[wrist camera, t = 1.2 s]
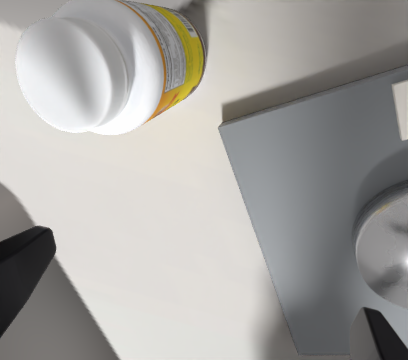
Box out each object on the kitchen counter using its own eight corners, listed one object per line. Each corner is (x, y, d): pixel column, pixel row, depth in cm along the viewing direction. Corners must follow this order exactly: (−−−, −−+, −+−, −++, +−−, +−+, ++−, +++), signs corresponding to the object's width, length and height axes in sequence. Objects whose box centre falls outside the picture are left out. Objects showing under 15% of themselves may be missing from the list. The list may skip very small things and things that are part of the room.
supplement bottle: (134, 102, 22) (19, 150, 13) (120, 11, 20) (-29, -4, 11) (211, 101, 20) (142, 157, 12) (207, 4, 18) (117, -22, 9)
